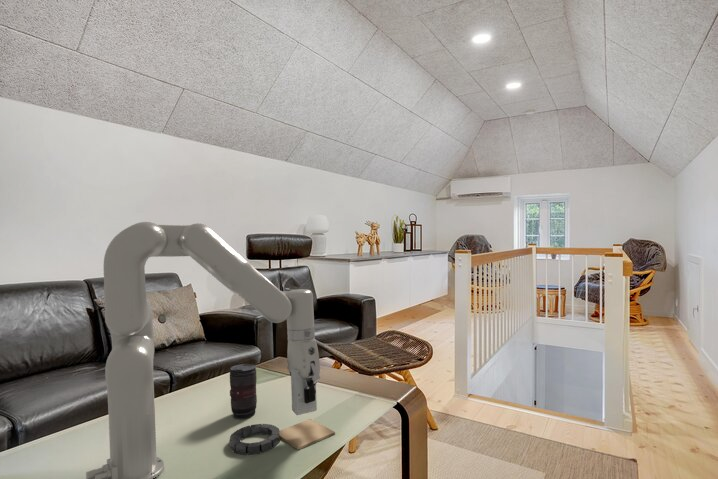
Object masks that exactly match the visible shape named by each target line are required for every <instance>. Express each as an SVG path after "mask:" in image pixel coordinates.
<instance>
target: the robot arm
mask: <svg viewBox="0 0 718 479" xmlns="http://www.w3.org/2000/svg"><path fill="white" fill-rule="evenodd" d="M153 257H154V258H155V257H156V258H157V257H159V258H160V257H172V258H173V257H190V258H192V259H193V260H194V262H196V263H197V264H198V265H200V266H201V267H202V268H203V269H204V270H205V271H206V272H208V273H209V274H211V276H212V277H214V278H215V279H216V280H217V281H218V282H219V283H220V284H222V286H224V287H226V288H227V289H228V290H229V291H232V292H233V293H235V294H237V295H238V296H239V297H241V299H243V300H244V301H245V302H246V303H248V304H249V305H250V306H252V308H254V309H255V310H256V311H257V312H258V313H259V314H260V315H261V316H262V317H263V318H264V319H265V320H267V321H269V322H271V323H274V324H280V323H282V322H285V321H286V328H287V329H286V330H287V332H286V333H287V355H286V356H287V359H286V360H287V367H286V369H287V370H288V372H289V375H290V377H291V368H294V369H296V370H298V371H299V375H300V376H301V377H303V378H304V383H305V389H304V401H305V403H306V404H307V403H310V402H313V401H315V387H316V388H317V383H318V382H319V381H320V379H321V376H320V373H321V365H320V363H321V362H320V354H319V349H318V343H317V340H316V336H315V335H316V333H315V332H316V331H315V315H314V314H315V313H314V310H315V308H314V294H313V292H312V290H311V289H307V288H304V289H303V288H301V289H298V288H296V289H292V290H287V291H286V290H283V291H282V290H280V289H279V288H278V287H277V286H276V285H274V284H273V282H271V281H270V280H269V279H268V278H267V277H266V276H264V275H263V274H262V273H261V272H260V271H258V270H257V269H256V267H254V266H253V264H251V263H250V262H249V261H248V260H247V259H245V258H244V256H242V255H241V254H240V253H239V252H238V251H236V250H235V249H234V248H233V247H232V246H231V245H229V243H227V241H226V240H224V239H223V238H222V237H221V236H220V235H218V233H216V232H215V231H214V230H213V229H212V228H211V227H209V226H207V225H206V224H203V223H199V222H198V223H192V224H190V225H189V224H188V225H187V224H186V225H184V224H183V225H179V224H178V225H173V224H157V223H155V222H151V221H141V222H137V223H134V224H131V225H130V226H128V227H126V228H124V229H123V230H121V231H120V232H118V233H117V234H116V235H115V236H114V237H113V238H112V239H111V240H110V243H109V244H108V246H107V248H106V250H105V254H104V257H103V291H104V292H103V293H104V295H103V298H104V320H105V325H106V327H107V328H108V330H109V331H110V337H111V351H110V353H109V355H108V356H107V359H106V362H105V368H104V369H105V373H104V374H105V376H104V377H105V384H106V393H107V410H108V411H107V412H108V413H107V414H108V430H109V431H108V435H109V458H107V459H106V463H105V464H102V466H101V467H98V468H94V469H91V470H89V471H86V472H85V478H86V479H153V478H155V477H156V478H157V477H159V476H160V474H162V473H163V471H164V468H165V463H164V460H163V459H162V458H160V457H157V435H156V433H157V432H156V431H157V430H156V409H155V408H156V407H155V386H154V359H155V339H154V326H153V325H154V324H153V322H154V321H153V311H152V305H151V302H150V300H149V299H148V297H147V291H146V273H145V272H146V271H145V270H146V269H145V267H146V266H145V265H146V262H148V259H150V258H153ZM309 374H310V376H308V375H309ZM309 378H311V380H310V381H309V383H308V379H309ZM158 475H159V476H158ZM156 478H155V479H156Z"/></svg>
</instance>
